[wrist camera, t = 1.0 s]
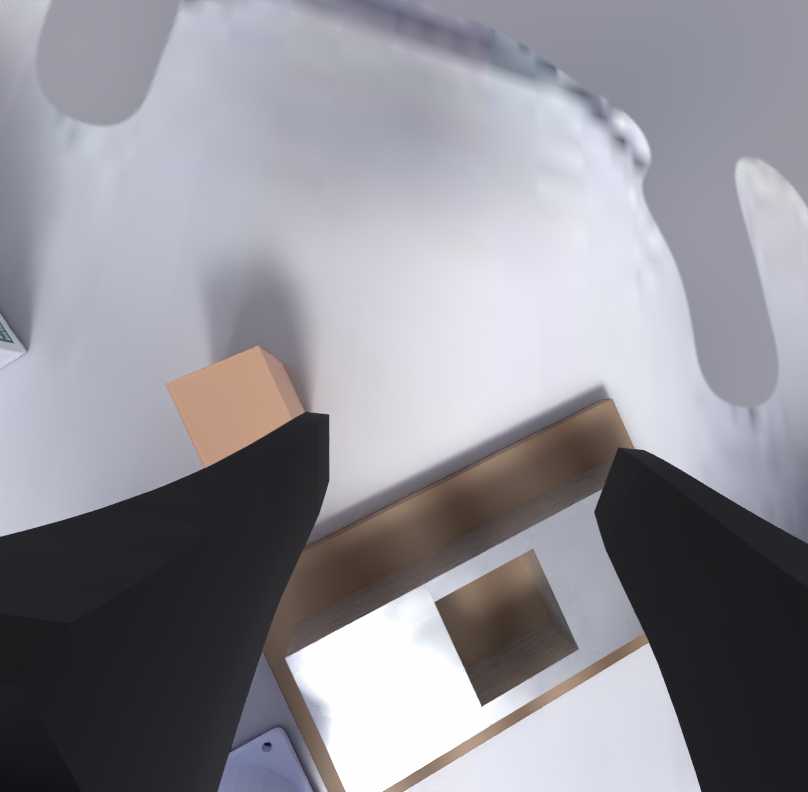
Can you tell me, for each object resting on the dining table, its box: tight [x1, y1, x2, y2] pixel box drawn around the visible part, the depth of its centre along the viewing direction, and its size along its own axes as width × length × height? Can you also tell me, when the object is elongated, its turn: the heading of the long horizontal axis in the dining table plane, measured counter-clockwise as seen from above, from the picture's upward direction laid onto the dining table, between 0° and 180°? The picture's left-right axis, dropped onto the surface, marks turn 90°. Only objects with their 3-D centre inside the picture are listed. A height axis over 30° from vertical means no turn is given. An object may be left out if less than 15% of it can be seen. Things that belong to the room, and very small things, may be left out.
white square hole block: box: [285, 461, 644, 792], centre depth 21 cm, size 20×8×3 cm, turn 115°
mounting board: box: [263, 399, 649, 792], centre depth 23 cm, size 24×14×1 cm, turn 115°
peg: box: [166, 346, 305, 468], centre depth 19 cm, size 4×4×6 cm
